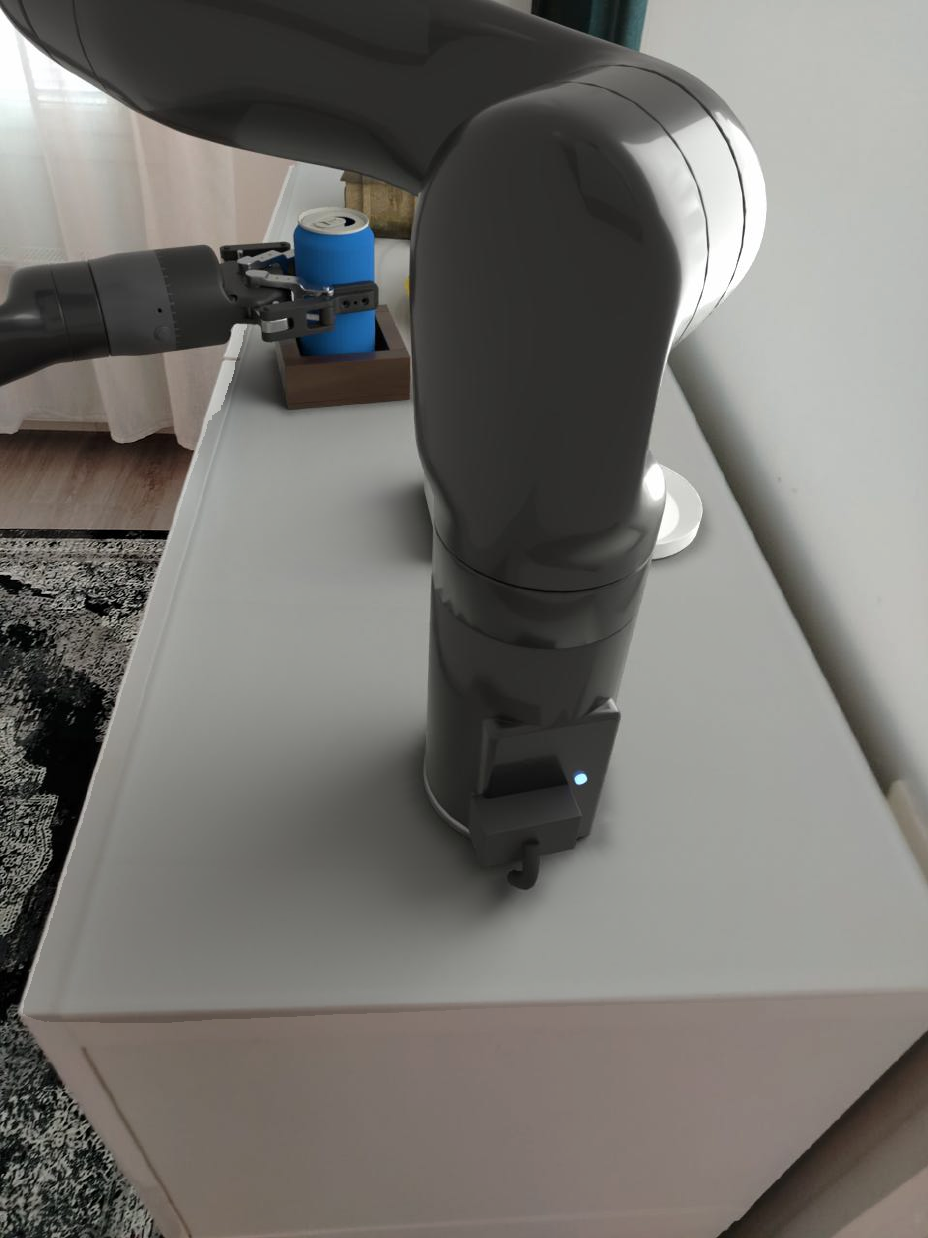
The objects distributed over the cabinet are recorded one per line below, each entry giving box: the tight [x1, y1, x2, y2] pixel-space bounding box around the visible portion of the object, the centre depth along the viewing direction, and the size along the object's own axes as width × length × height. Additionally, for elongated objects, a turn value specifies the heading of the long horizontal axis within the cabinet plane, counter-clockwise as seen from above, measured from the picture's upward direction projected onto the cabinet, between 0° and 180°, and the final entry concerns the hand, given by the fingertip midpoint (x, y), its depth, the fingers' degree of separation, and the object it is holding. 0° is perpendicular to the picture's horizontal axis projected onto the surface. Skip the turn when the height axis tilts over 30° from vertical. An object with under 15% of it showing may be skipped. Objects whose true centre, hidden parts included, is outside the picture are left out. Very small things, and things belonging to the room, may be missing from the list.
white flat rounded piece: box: [423, 463, 703, 560], centre depth 66 cm, size 12×3×20 cm
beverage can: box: [292, 206, 376, 357], centre depth 75 cm, size 6×6×12 cm
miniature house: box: [339, 171, 418, 241], centre depth 106 cm, size 15×14×11 cm
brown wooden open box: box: [273, 303, 411, 410], centre depth 79 cm, size 10×10×4 cm
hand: (361, 277), depth 76 cm, fingers closed on beverage can, 6 cm apart
